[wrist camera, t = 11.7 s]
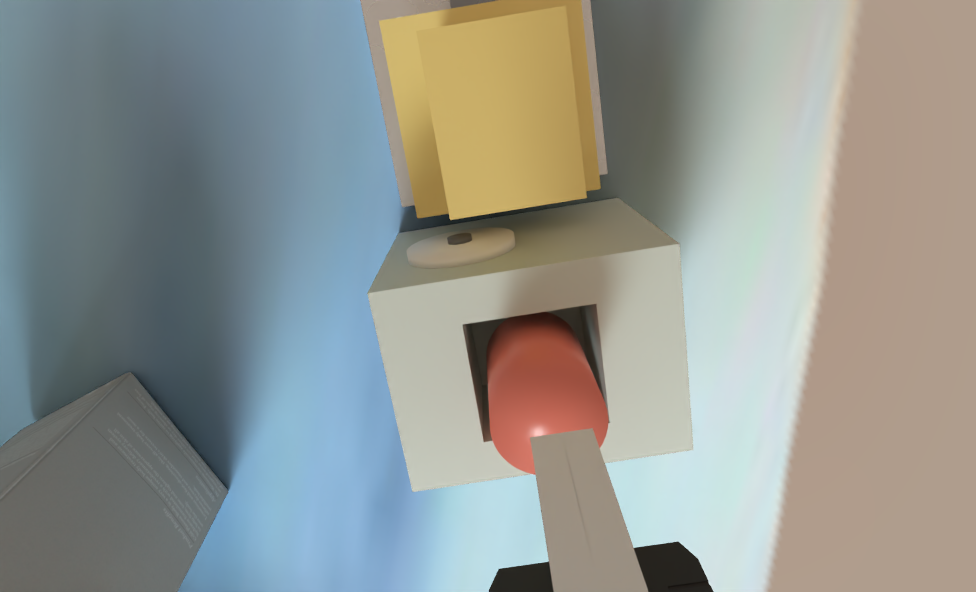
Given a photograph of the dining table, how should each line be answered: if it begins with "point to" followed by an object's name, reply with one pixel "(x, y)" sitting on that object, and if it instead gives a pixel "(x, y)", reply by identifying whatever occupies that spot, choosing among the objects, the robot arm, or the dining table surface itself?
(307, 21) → the dining table surface
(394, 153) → the rail base
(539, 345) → the button
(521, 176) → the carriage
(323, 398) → the dining table surface
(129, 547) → the skincare box
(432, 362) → the cabinet
